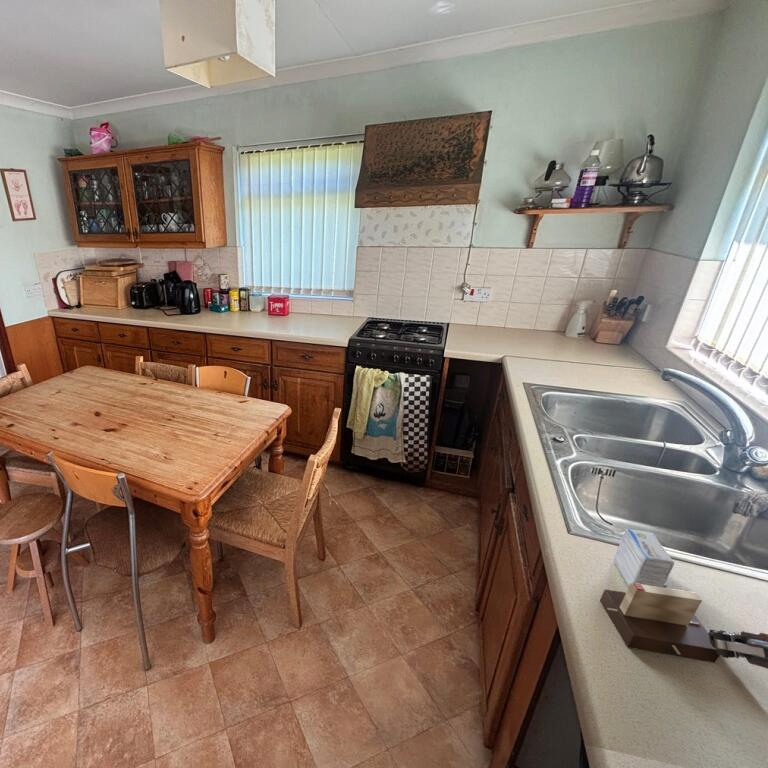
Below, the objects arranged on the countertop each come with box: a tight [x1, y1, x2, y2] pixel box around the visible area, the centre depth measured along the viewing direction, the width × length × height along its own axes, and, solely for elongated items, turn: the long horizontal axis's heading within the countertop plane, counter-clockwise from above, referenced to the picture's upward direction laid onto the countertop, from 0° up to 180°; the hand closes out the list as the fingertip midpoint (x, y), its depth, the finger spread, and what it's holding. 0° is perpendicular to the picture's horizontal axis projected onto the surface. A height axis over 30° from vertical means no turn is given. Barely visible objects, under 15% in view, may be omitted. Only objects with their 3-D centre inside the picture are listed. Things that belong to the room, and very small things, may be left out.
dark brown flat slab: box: [599, 584, 721, 664], centre depth 71 cm, size 14×13×3 cm
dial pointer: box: [620, 583, 703, 626], centre depth 69 cm, size 9×2×6 cm, turn 77°
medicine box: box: [612, 528, 675, 588], centre depth 79 cm, size 8×4×9 cm, turn 161°
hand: (717, 639), depth 55 cm, fingers closed
